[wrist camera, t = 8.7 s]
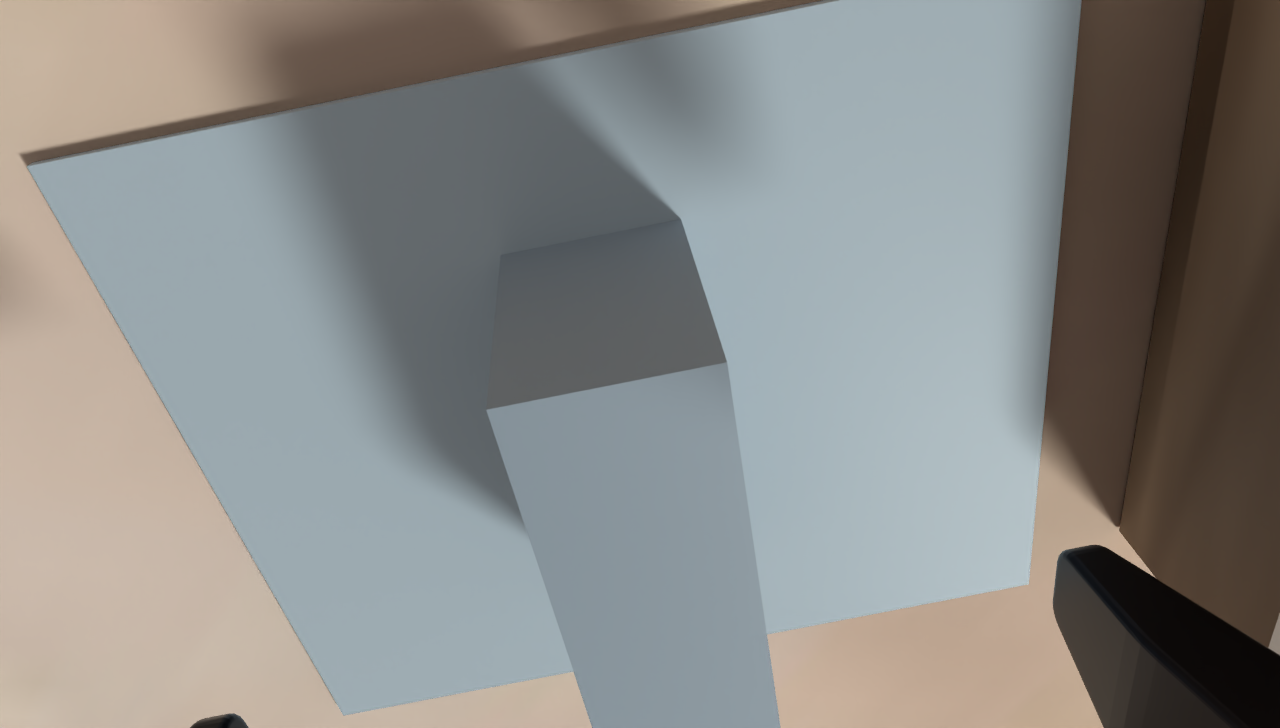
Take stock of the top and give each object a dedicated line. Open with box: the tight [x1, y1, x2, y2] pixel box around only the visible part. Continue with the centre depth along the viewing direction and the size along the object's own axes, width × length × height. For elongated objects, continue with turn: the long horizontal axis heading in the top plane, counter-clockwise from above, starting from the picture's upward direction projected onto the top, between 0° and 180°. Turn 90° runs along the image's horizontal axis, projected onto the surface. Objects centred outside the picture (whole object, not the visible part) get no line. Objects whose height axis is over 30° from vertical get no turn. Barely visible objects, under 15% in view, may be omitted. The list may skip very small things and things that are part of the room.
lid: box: [27, 0, 1082, 728], centre depth 12 cm, size 13×11×4 cm
